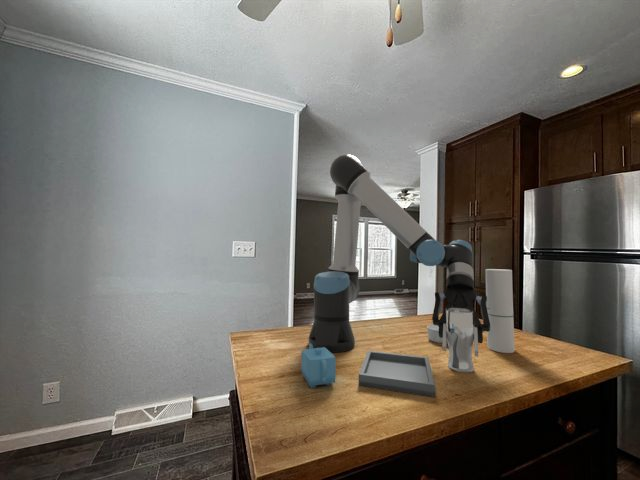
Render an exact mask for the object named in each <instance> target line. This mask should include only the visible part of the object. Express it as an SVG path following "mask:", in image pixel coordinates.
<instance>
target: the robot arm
mask: <svg viewBox="0 0 640 480" xmlns="http://www.w3.org/2000/svg"><path fill="white" fill-rule="evenodd" d="M329 174H330V178H331V181H332V182H333V183H334V185H335V190H334V191H335V193H334V198H335V200H336V201H337V202H338V203H337V204H338V205H337V211H336V212H337V213H336V214H337V215H336V224H335V226H336V227H335V235H334V248H333V249H334V250H333V257H332V264H331V265H329V267H328V270H327V271H325V272H319V273H317V274H315V277H314V281H313V323H312V325H311V329H310V332H309V335H308V344H309V343H311V344H312V345H313V348H322V347H325V348H326V349H327V350H328V351H330V352H331V353H342V352H347V351H350V350H352V349H354V348H355V344H356V342H355V339H356V338H355V335H354V332H353V329H352V326H351V323H350V304H351V303H353V302H354V301H355V300H356V299H357V298H358V296H359V294H360V290H361V289H360V288H361V286H360V281H359V275H360V274H359V273H360V271H359V268H357V265H356V263H357V262H356V260H357V251H358V242H359V241H358V240H359V228H360V219H361V218H360V217H361V204H363V205H364V207H366V208H367V209H368V210H369V212H371V213H372V215H373V216H374V217H375V218H377V220H379V221H380V222H381V224H382V225H384V226H385V227H386V228H387V229H388V231H389V232H391V234H393V235H394V236H395V237H396V239H397V240H399V241H400V242H401V243H402V244H403V245H404V246H405V247H406V249H408V250H409V251H410V255H409V261H410V262H413V263H418V264H422V265H424V266H426V267H435V266H438V267H441V268H446V282H445V283H446V284H445V285H446V286H445V291H444V293H439V292H437V291H435V292H434V298H435V302H434V308H433V312H432V318H431V320H432V325H437V326H439V332H438V333H439V337H440V338H443V343H441V345H442V351H443V352H447V344H448V343H447V336H446V328H445V315H446V309H447V308H463V309H469V310H472V311H473V315H474V324H475V331H474V342H473V348H474V357H479V344H483V342H484V335H483V334H484V332H486V333H487V332H489V331H490V321H489V316H488V312H487V307H486V304H487V296H486V295H482V296H479V295H477V294H476V292H475V278H474V276H475V275H474V274H475V273H474V272H475V271H474V253H473V248H472V247H473V246H472V245H471V244H470V242H468V241H466V240H463V239H457V240H452V241H451V242H450V243H449V244H443V243H441V242H440V241H439V240H436V239H435V238H434V237H433V236H432V235H431V234H430V233H428V231H427V230H425V228H423V227H422V226H421V224H419V223H418V222H417V220H415V219H414V218H413V217H412V216H411V215H410V214H409V213H408V212H407V211H406V210H404V208H403V207H401V205H400V204H398V203H397V202H396V201H395V200H394V199H393V197H391V196H390V195H389V194H388V193H387V192H386V191H385V190H384V189H383V188H382V187H381V186H380V185H379V184H378V183H377V182H376V181H374V179H373V178H371V172H370V171H369V170H368V169H367V168H365V166H364V165H363V164H362V162H361V161H360V159H359V158H357V157H356V156H354V155H351V154H341V155H338V157H336V158H335V159H334V160H333V161H332V163H331V165H330V170H329ZM444 299H445V300H446V301H447V304H446V306H445V309H444V310H443V312H442V314H441V316H440V311H441V305H442V304H441V303H442V302H443V301H444ZM475 301H477V303H478V305H479V306H480V313H481V317H482V322H481V320H480V319H479V316H478V314H477V312H476V310H475V309H474V307H473V304H474V302H475ZM439 317H440V318H439Z"/></svg>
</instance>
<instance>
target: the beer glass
mask: <svg viewBox="0 0 640 480" xmlns="http://www.w3.org/2000/svg"><path fill="white" fill-rule="evenodd" d="M445 328H446V336H447V341H448V343H447V344H448V353H449V355H448V361H447V367H448V368H449V369H450V370H452V371H455V372H458V373H466V374H468V373H473V372H474V363H473V358H472V356H473V355H472V354H473V348H474V331H475V324H474V315H473V311H472V310H469V309H466V308H461V307H454V308H447V309H446V315H445Z"/></svg>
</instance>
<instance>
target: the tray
mask: <svg viewBox="0 0 640 480" xmlns="http://www.w3.org/2000/svg"><path fill="white" fill-rule="evenodd" d="M358 386H359V387H365V388H372V389H379V390H385V391H391V392H397V393H398V392H399V393H403V394H404V393H405V394H412V395H418V396H424V397H425V396H426V397H431V398H436V384H435V379H434V375H433V371H432V366H431V363H430V358H429V357H428V356H421V355H413V354H403V353H394V352H384V351H376V350H367V352H366V354H365V356H364V359H363V362H362V364H361V367H360V369H359V373H358Z"/></svg>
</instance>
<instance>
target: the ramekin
mask: <svg viewBox="0 0 640 480" xmlns="http://www.w3.org/2000/svg"><path fill="white" fill-rule="evenodd" d="M426 329H427V334H428V335H427V337H428V339H429V340H430V341H431V342H434V343H438V344H442V343H443V338H440V337H439V333H438V332H439V326H437V325H433V324H429V325H426ZM446 344H448V341H447V343H446Z"/></svg>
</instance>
